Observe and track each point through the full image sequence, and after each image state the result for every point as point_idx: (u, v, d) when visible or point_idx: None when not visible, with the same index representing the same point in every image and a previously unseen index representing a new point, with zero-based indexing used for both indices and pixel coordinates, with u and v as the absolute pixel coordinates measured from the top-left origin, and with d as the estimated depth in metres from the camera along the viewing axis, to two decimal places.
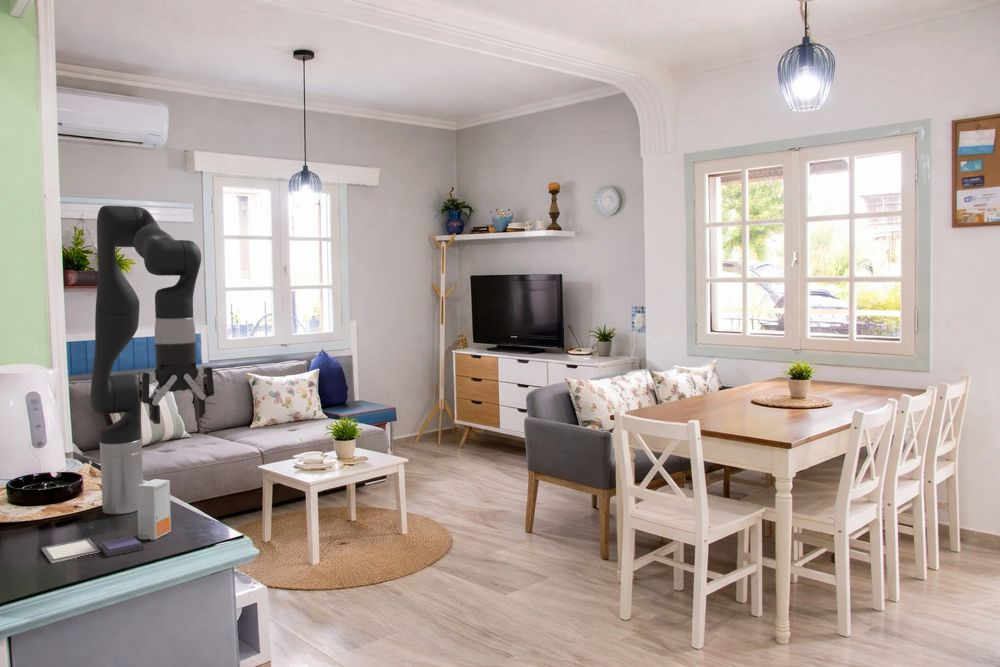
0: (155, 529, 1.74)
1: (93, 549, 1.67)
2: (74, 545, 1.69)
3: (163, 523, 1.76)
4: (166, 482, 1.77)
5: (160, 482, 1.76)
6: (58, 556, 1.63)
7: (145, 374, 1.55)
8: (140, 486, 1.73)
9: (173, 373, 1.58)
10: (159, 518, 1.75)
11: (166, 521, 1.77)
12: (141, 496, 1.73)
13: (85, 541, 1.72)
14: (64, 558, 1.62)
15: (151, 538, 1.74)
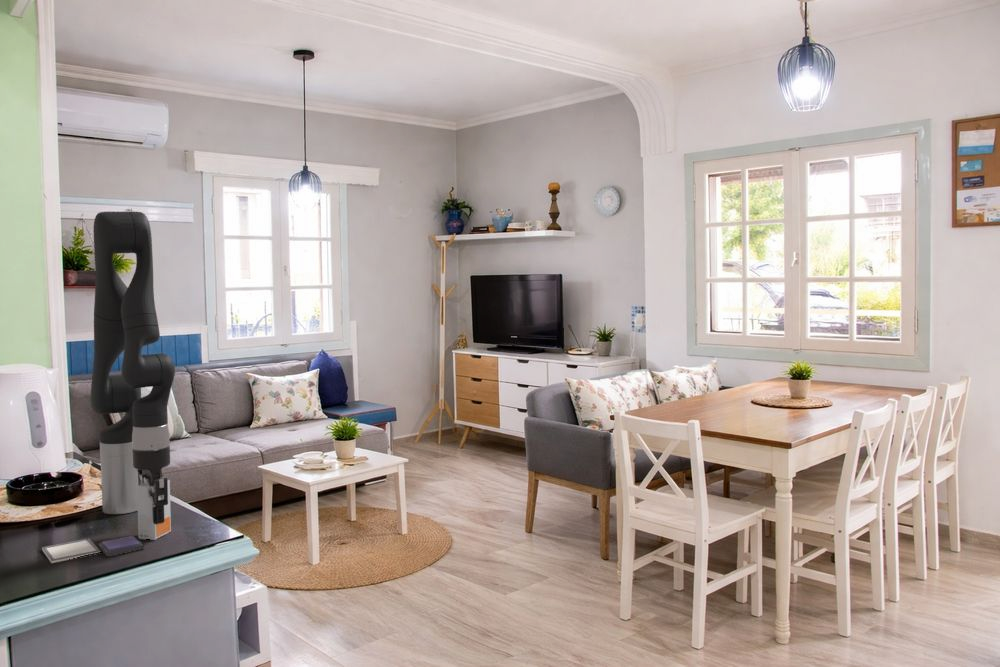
0: (155, 529, 1.74)
1: (93, 549, 1.67)
2: (74, 545, 1.69)
3: (163, 523, 1.76)
4: None
5: None
6: (58, 556, 1.63)
7: (167, 479, 1.71)
8: (140, 486, 1.73)
9: None
10: None
11: (166, 521, 1.77)
12: (141, 496, 1.73)
13: (85, 541, 1.72)
14: (64, 558, 1.62)
15: (151, 538, 1.74)
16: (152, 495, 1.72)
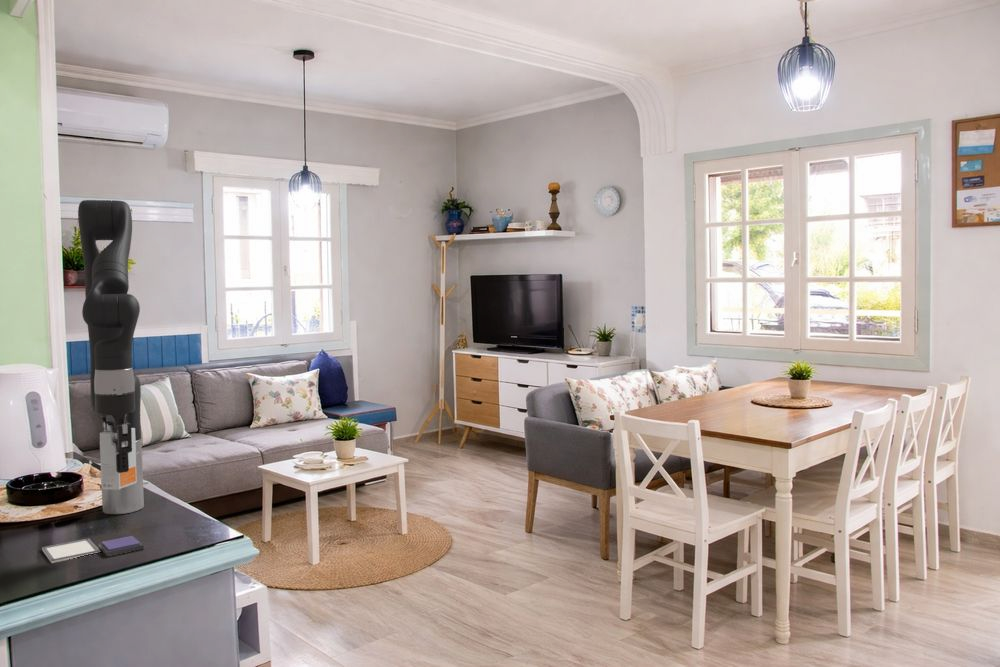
0: (119, 479, 1.64)
1: (93, 549, 1.67)
2: (74, 545, 1.69)
3: (128, 473, 1.67)
4: (131, 430, 1.68)
5: None
6: (58, 556, 1.63)
7: (130, 425, 1.62)
8: (103, 433, 1.64)
9: None
10: None
11: (131, 471, 1.68)
12: (104, 443, 1.64)
13: (85, 541, 1.72)
14: (64, 558, 1.62)
15: (115, 488, 1.64)
16: (115, 442, 1.63)
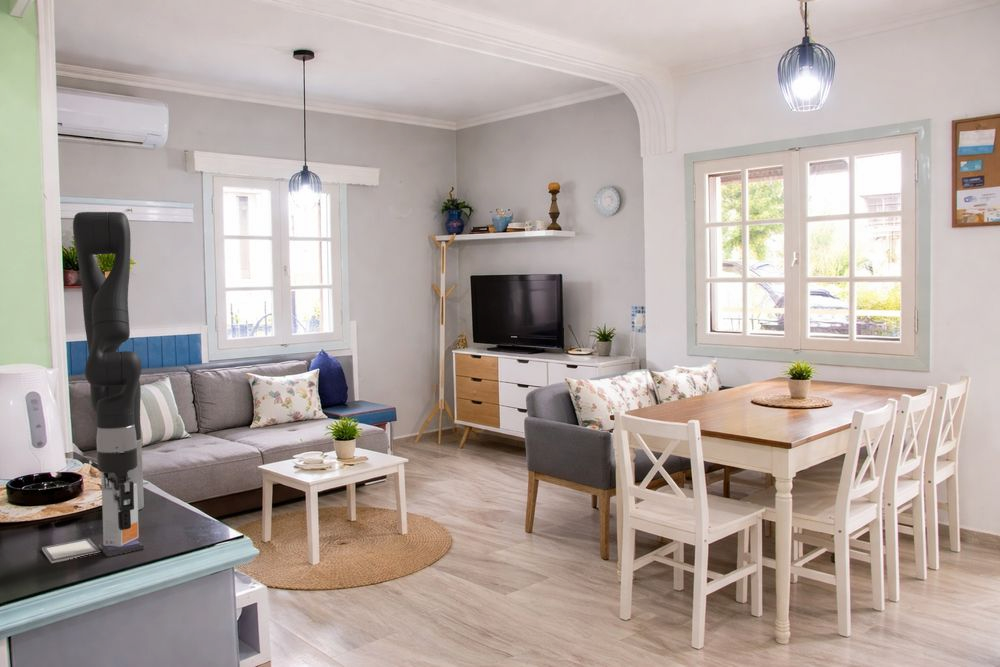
0: (121, 536, 1.65)
1: (93, 549, 1.67)
2: (74, 545, 1.69)
3: (130, 529, 1.68)
4: None
5: None
6: (58, 556, 1.63)
7: (133, 483, 1.63)
8: (105, 490, 1.65)
9: None
10: None
11: (133, 527, 1.69)
12: (106, 501, 1.65)
13: (85, 541, 1.72)
14: (64, 558, 1.62)
15: (117, 545, 1.65)
16: (117, 499, 1.64)
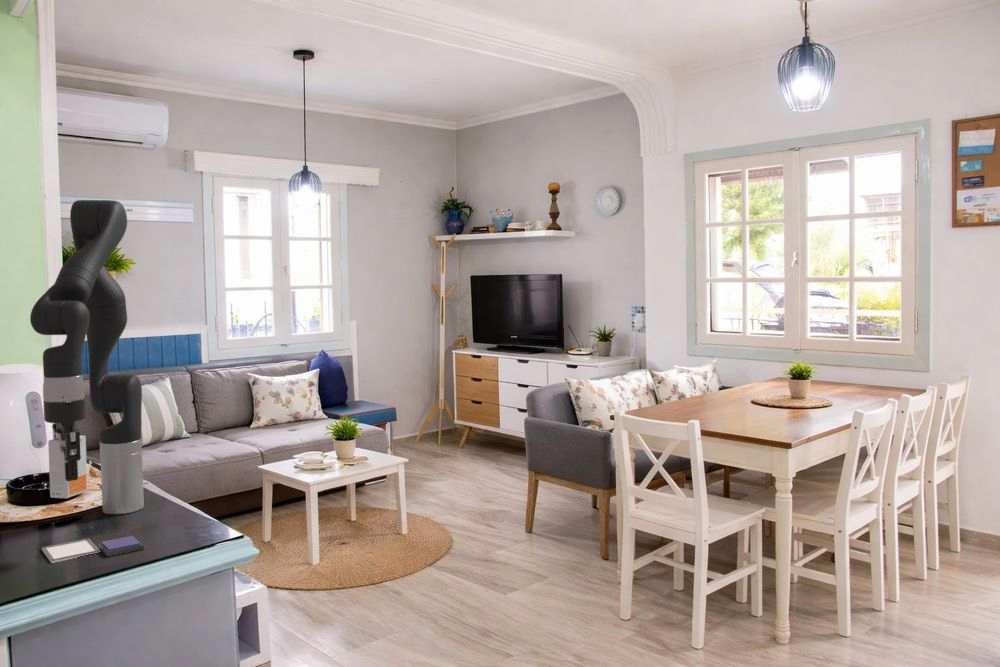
0: (68, 487, 1.63)
1: (93, 549, 1.67)
2: (74, 545, 1.69)
3: (78, 481, 1.66)
4: (81, 438, 1.66)
5: None
6: (58, 556, 1.63)
7: None
8: (51, 441, 1.63)
9: None
10: None
11: (81, 479, 1.67)
12: (53, 451, 1.63)
13: (85, 541, 1.72)
14: (64, 558, 1.62)
15: (63, 496, 1.63)
16: (64, 450, 1.62)
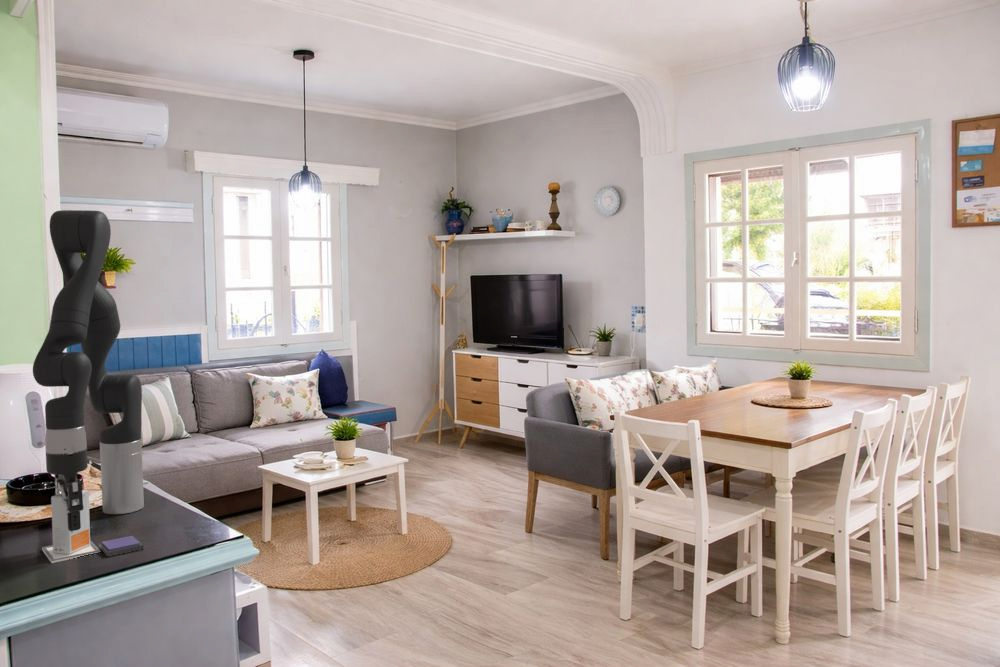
0: (70, 543, 1.64)
1: (93, 549, 1.67)
2: None
3: (80, 537, 1.66)
4: (84, 493, 1.67)
5: None
6: (58, 556, 1.63)
7: (81, 482, 1.61)
8: (54, 497, 1.64)
9: None
10: (75, 531, 1.65)
11: (84, 534, 1.67)
12: (55, 508, 1.64)
13: None
14: (64, 558, 1.62)
15: (66, 552, 1.64)
16: (66, 500, 1.62)
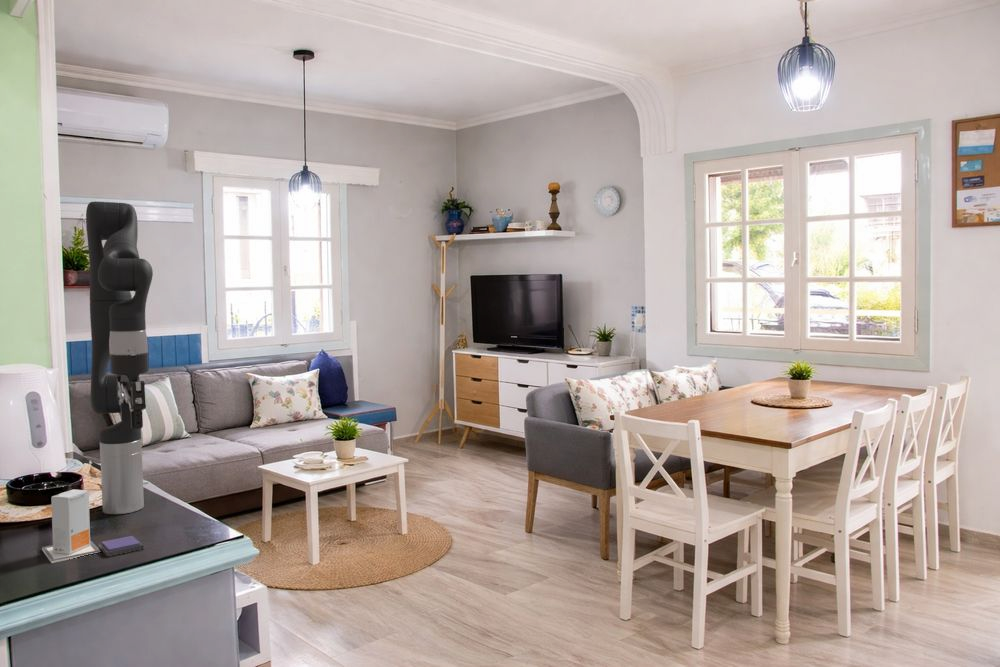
0: (70, 543, 1.64)
1: (93, 549, 1.67)
2: None
3: (80, 537, 1.66)
4: (84, 493, 1.67)
5: (77, 493, 1.66)
6: (58, 556, 1.63)
7: (143, 382, 1.68)
8: (54, 497, 1.64)
9: None
10: (75, 531, 1.65)
11: (84, 534, 1.67)
12: (55, 508, 1.64)
13: None
14: (64, 558, 1.62)
15: (66, 552, 1.64)
16: (130, 399, 1.69)
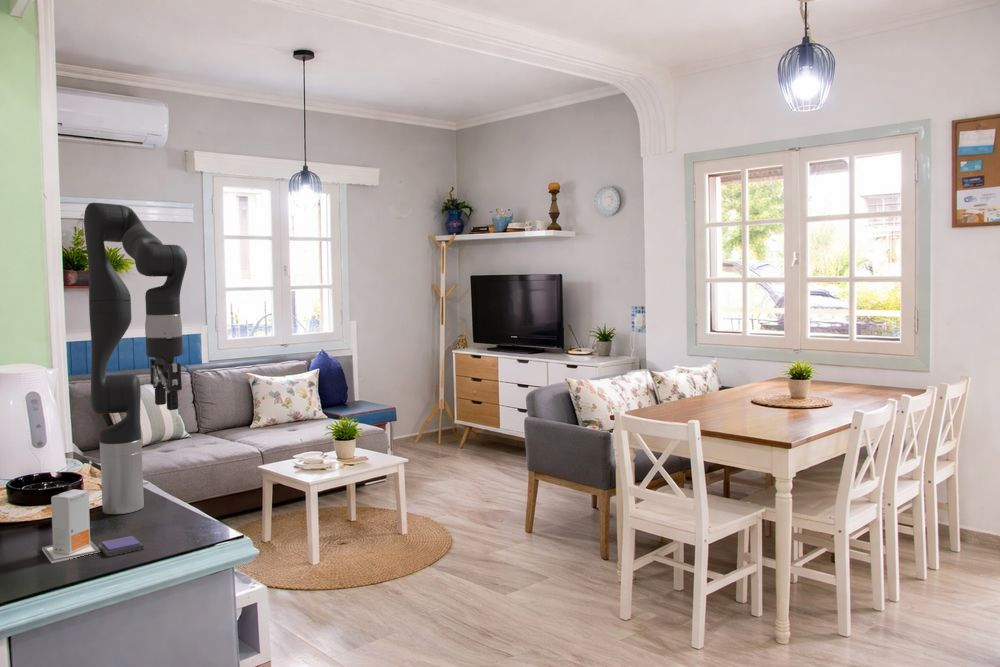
0: (70, 543, 1.64)
1: (93, 549, 1.67)
2: None
3: (80, 537, 1.66)
4: (84, 493, 1.67)
5: (77, 493, 1.66)
6: (58, 556, 1.63)
7: None
8: (54, 497, 1.64)
9: None
10: (75, 531, 1.65)
11: (84, 534, 1.67)
12: (55, 508, 1.64)
13: None
14: (64, 558, 1.62)
15: (66, 552, 1.64)
16: (166, 381, 1.74)
